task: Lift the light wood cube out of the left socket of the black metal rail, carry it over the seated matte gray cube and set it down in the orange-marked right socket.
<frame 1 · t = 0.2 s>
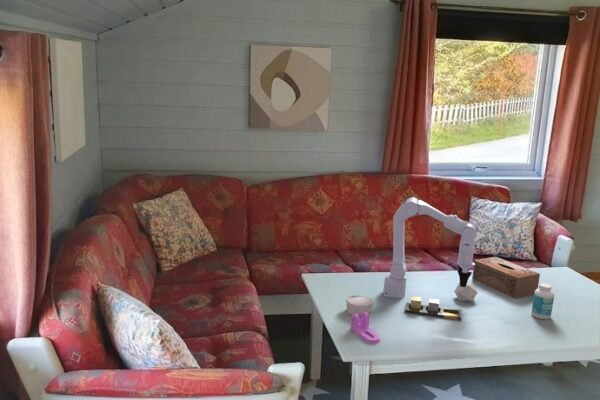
hand: (462, 283, 231), 10 cm above the table, tool pointing down, fingers open, 7 cm apart
tissue box cover: (503, 287, 258), on the table
ramekin: (358, 312, 223), on the table
light wood cube: (415, 310, 225), point 1 cm above the table, touching rail
die: (464, 301, 239), on the table
rail: (432, 314, 223), on the table
bracket: (366, 336, 203), on the table
matte gray cube: (432, 312, 223), point 1 cm above the table, touching rail
pill bottle: (540, 316, 226), on the table
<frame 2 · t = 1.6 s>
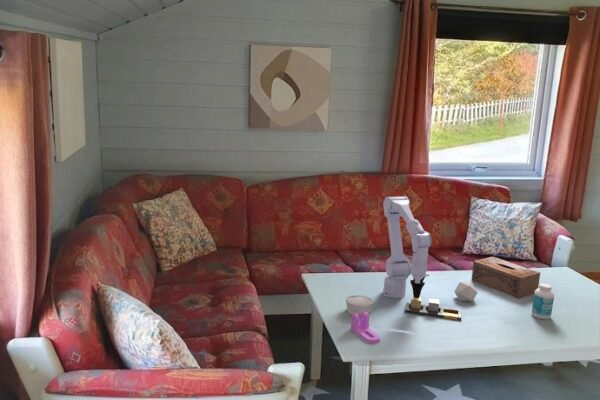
hand: (416, 294, 223), 8 cm above the table, tool pointing down, fingers open, 7 cm apart
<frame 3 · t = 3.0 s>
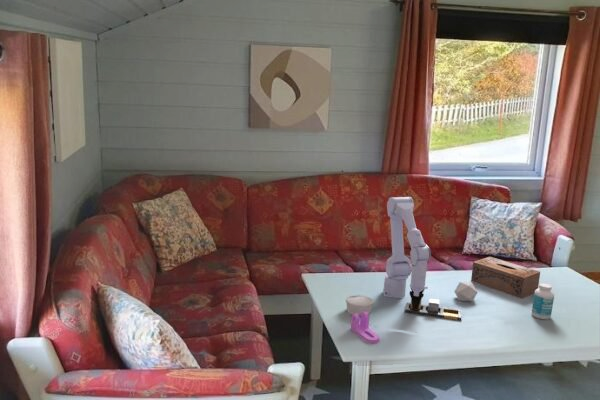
hand: (415, 306, 224), 2 cm above the table, tool pointing down, fingers closed on light wood cube, 4 cm apart
light wood cube: (415, 310, 225), point 1 cm above the table, touching gripper, rail
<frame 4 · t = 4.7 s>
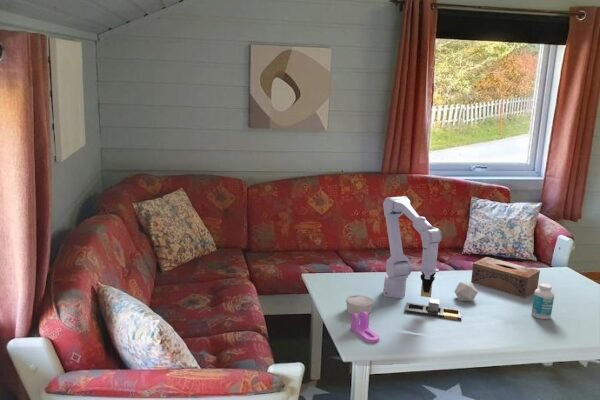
hand: (426, 290, 222), 10 cm above the table, tool pointing down, fingers closed on light wood cube, 4 cm apart
light wood cube: (425, 295, 222), point 8 cm above the table, touching gripper
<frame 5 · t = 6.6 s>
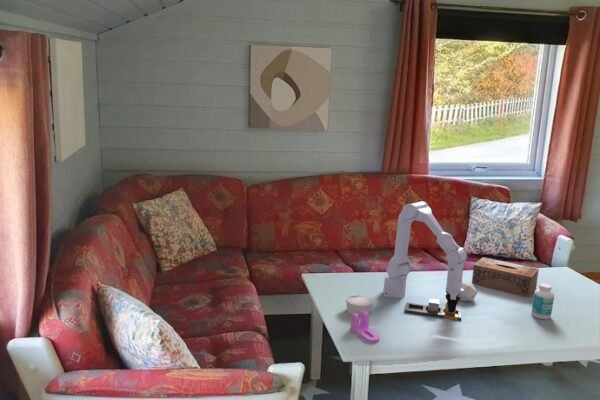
hand: (451, 309, 221), 3 cm above the table, tool pointing down, fingers closed on light wood cube, 4 cm apart
light wood cube: (449, 314, 221), point 1 cm above the table, touching gripper, rail
when the fingers open (3 cm above the table, at t = 7.3 s): light wood cube stays where it is, resting on rail.
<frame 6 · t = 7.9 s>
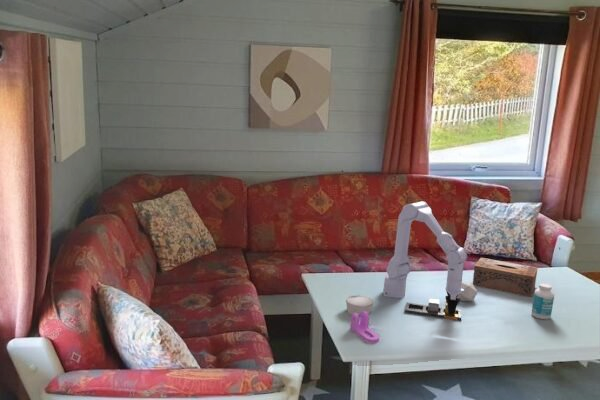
hand: (451, 310, 221), 3 cm above the table, tool pointing down, fingers open, 7 cm apart
light wood cube: (449, 314, 221), point 1 cm above the table, touching rail
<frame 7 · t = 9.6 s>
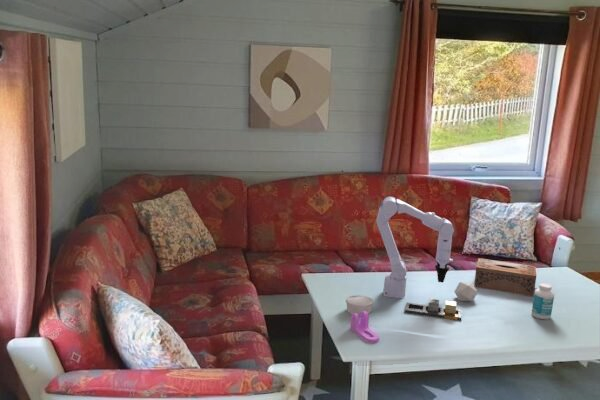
hand: (440, 278, 236), 10 cm above the table, tool pointing down, fingers open, 7 cm apart
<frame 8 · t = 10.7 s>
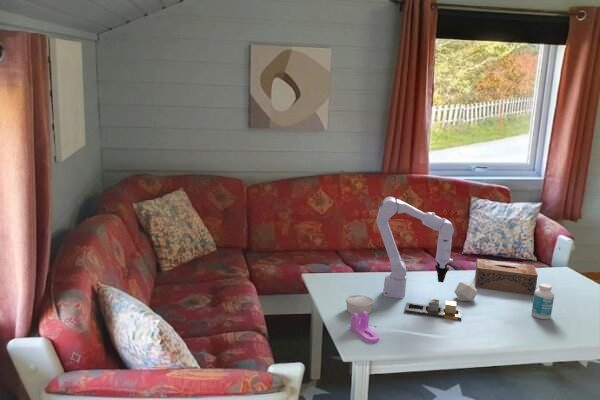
hand: (440, 278, 236), 10 cm above the table, tool pointing down, fingers open, 7 cm apart
at the end: light wood cube 0.4 cm from the target spot on the rail, point 0.9 cm above the rail's base; light wood cube tilted 0°; the gripper is holding nothing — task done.
